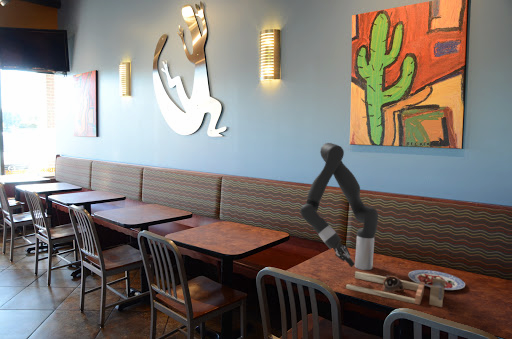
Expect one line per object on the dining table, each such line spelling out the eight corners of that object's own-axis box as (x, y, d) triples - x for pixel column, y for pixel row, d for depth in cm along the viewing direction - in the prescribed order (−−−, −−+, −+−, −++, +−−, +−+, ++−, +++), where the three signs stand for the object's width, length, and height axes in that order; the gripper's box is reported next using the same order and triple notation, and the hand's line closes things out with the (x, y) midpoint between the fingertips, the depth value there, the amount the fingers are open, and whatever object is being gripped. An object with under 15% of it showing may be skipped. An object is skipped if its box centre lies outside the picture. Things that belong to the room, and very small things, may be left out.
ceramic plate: (408, 287, 190) (408, 281, 190) (407, 271, 214) (408, 265, 214) (468, 297, 181) (469, 291, 181) (461, 279, 205) (461, 273, 205)
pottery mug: (409, 296, 181) (405, 282, 178) (390, 304, 181) (386, 291, 177) (396, 280, 192) (392, 267, 189) (378, 288, 192) (374, 275, 188)
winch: (431, 294, 182) (433, 275, 181) (443, 297, 180) (445, 277, 179) (428, 306, 169) (430, 286, 168) (441, 309, 166) (443, 288, 165)
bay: (355, 276, 201) (356, 269, 201) (423, 290, 186) (424, 282, 186) (346, 288, 185) (346, 280, 185) (419, 304, 170) (420, 295, 170)
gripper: (331, 235, 190) (355, 265, 185) (339, 229, 201) (362, 257, 197) (319, 244, 193) (343, 274, 188) (328, 238, 204) (351, 265, 200)
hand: (353, 265), depth 192 cm, fingers closed
